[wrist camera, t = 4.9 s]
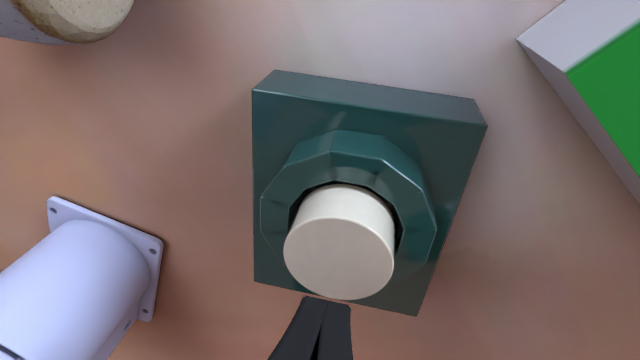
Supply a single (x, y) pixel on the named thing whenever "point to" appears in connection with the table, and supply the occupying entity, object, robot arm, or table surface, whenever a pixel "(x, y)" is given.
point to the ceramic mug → (61, 20)
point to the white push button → (341, 243)
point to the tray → (596, 74)
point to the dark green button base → (361, 168)
